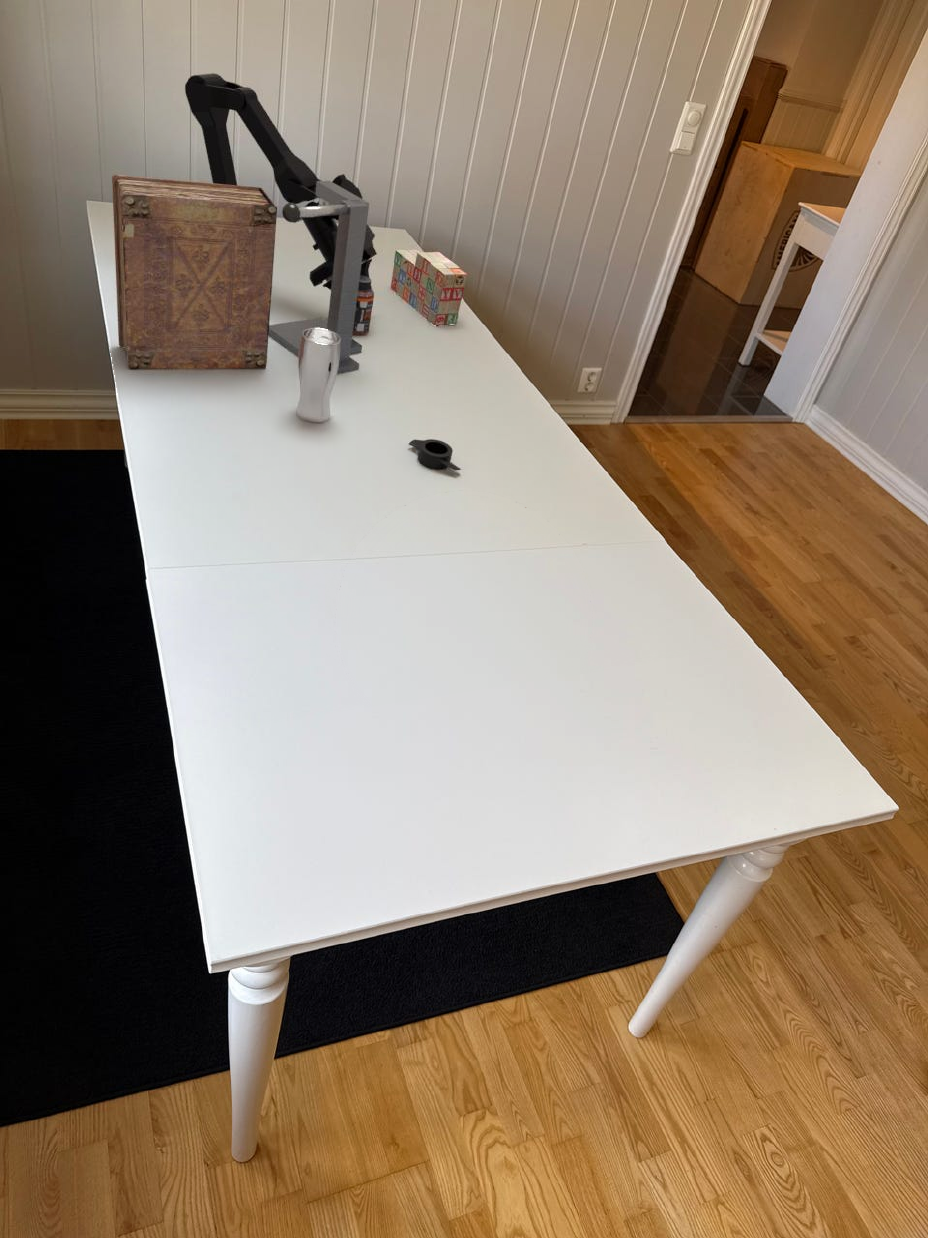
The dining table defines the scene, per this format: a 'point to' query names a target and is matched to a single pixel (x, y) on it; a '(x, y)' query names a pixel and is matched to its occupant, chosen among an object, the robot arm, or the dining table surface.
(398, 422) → the dining table surface
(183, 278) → the book
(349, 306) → the arbor press
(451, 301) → the stack of blocks
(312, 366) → the beer glass
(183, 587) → the dining table surface
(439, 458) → the black winged ring
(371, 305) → the supplement bottle
